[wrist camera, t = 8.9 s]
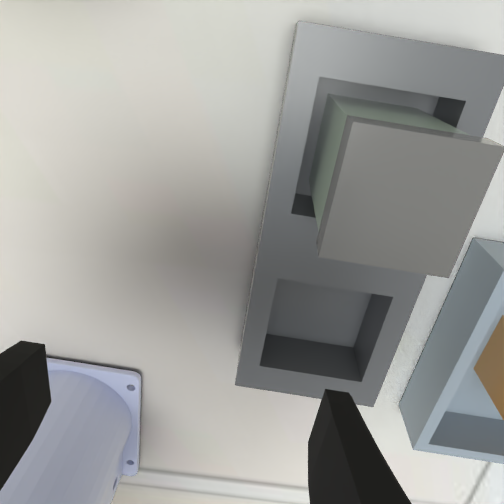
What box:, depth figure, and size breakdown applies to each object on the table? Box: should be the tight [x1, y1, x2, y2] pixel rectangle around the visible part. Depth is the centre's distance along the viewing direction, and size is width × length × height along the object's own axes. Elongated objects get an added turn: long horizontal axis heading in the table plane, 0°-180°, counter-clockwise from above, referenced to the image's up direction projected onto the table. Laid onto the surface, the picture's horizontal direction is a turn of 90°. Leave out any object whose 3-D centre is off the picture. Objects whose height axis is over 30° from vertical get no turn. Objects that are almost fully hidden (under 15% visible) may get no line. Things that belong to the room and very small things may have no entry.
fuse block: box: [235, 21, 504, 407], centre depth 18 cm, size 16×7×3 cm, turn 172°
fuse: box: [309, 94, 504, 278], centre depth 14 cm, size 4×4×7 cm
